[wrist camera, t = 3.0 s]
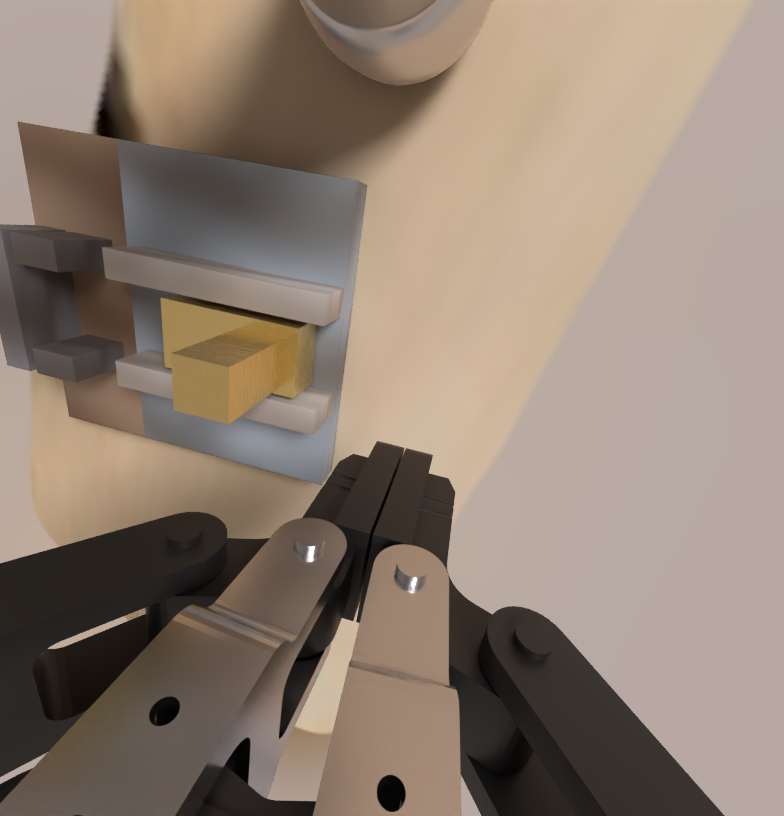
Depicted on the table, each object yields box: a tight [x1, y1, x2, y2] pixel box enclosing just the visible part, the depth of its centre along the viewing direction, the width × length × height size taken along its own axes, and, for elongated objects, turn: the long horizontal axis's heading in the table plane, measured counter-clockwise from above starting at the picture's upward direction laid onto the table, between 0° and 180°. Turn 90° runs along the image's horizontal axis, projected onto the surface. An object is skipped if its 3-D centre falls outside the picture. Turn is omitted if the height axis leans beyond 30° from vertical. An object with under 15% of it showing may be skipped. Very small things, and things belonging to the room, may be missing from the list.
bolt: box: [161, 294, 317, 424], centre depth 16 cm, size 3×6×6 cm, turn 80°
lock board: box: [0, 122, 367, 485], centre depth 19 cm, size 14×15×4 cm
